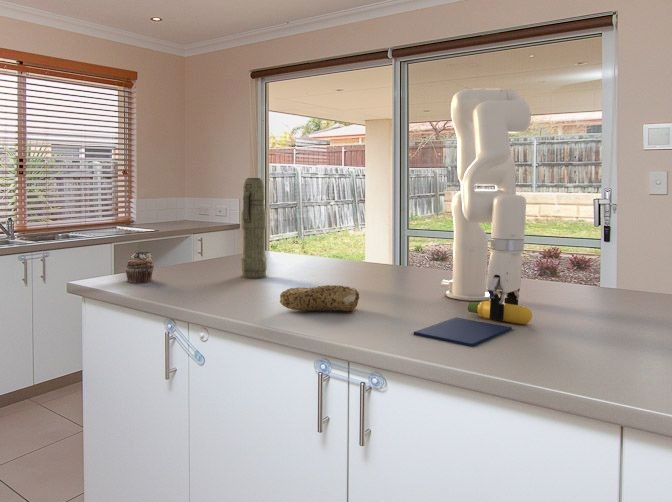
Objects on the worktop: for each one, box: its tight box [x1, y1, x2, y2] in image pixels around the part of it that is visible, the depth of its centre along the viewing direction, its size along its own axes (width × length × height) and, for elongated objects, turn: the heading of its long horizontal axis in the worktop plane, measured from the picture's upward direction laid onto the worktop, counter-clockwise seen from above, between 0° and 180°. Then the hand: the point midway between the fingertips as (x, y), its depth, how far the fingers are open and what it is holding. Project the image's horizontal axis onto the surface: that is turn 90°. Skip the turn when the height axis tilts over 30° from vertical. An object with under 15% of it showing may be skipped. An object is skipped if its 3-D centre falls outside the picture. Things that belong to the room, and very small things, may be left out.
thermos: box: [240, 177, 268, 279], centre depth 211 cm, size 9×12×35 cm
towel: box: [413, 317, 513, 347], centre depth 137 cm, size 14×20×1 cm
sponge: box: [279, 284, 360, 312], centre depth 159 cm, size 13×8×20 cm
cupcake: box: [124, 251, 155, 284], centre depth 203 cm, size 10×10×10 cm
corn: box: [467, 300, 533, 325], centre depth 148 cm, size 16×4×4 cm, turn 46°
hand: (503, 316), depth 147 cm, fingers open, 7 cm apart
